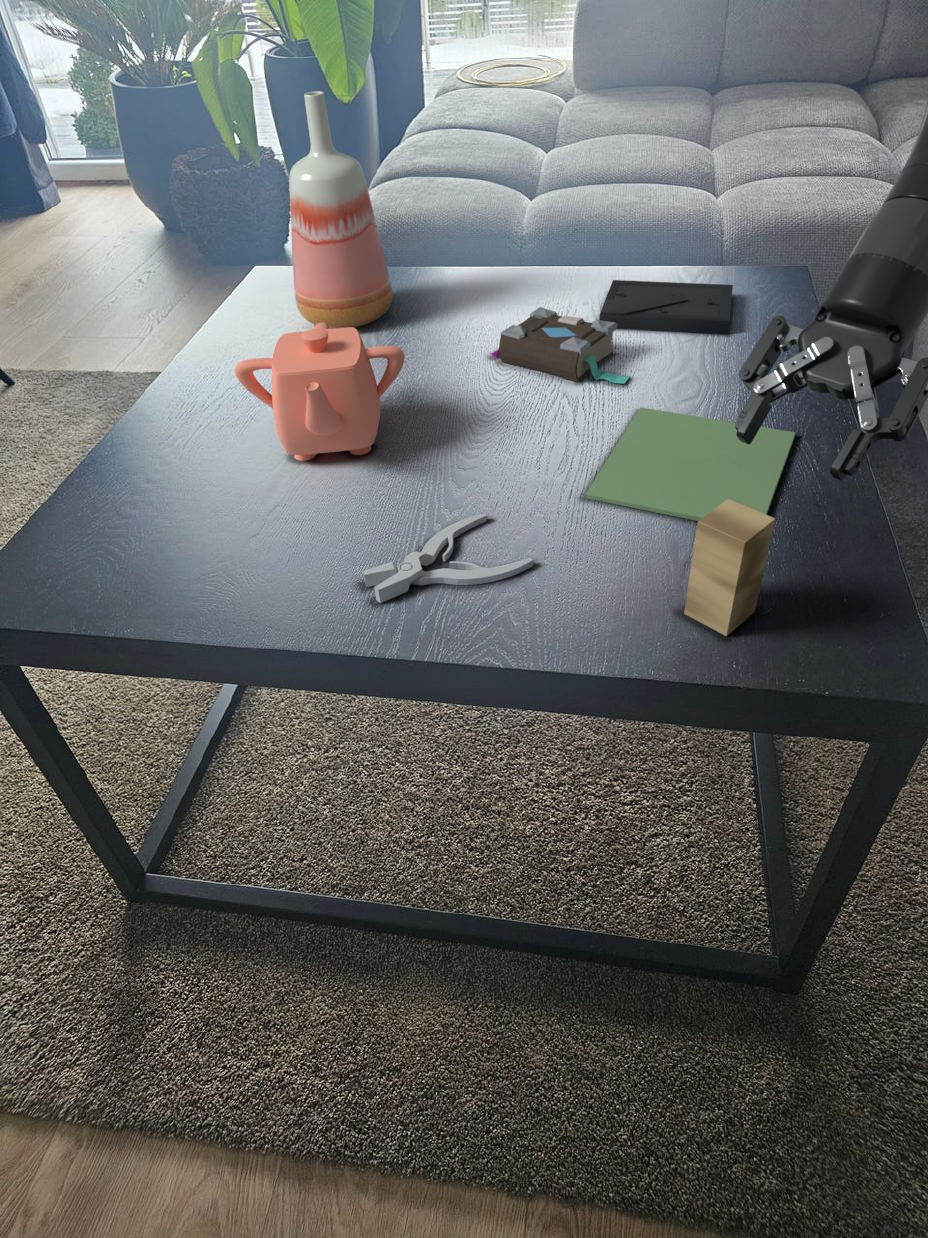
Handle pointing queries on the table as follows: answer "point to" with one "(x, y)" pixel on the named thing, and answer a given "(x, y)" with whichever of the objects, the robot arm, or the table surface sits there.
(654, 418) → the mat
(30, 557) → the table surface
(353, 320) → the vase
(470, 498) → the table surface
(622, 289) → the picture frame
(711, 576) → the block
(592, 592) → the table surface
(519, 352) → the book
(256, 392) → the teapot
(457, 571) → the pliers
